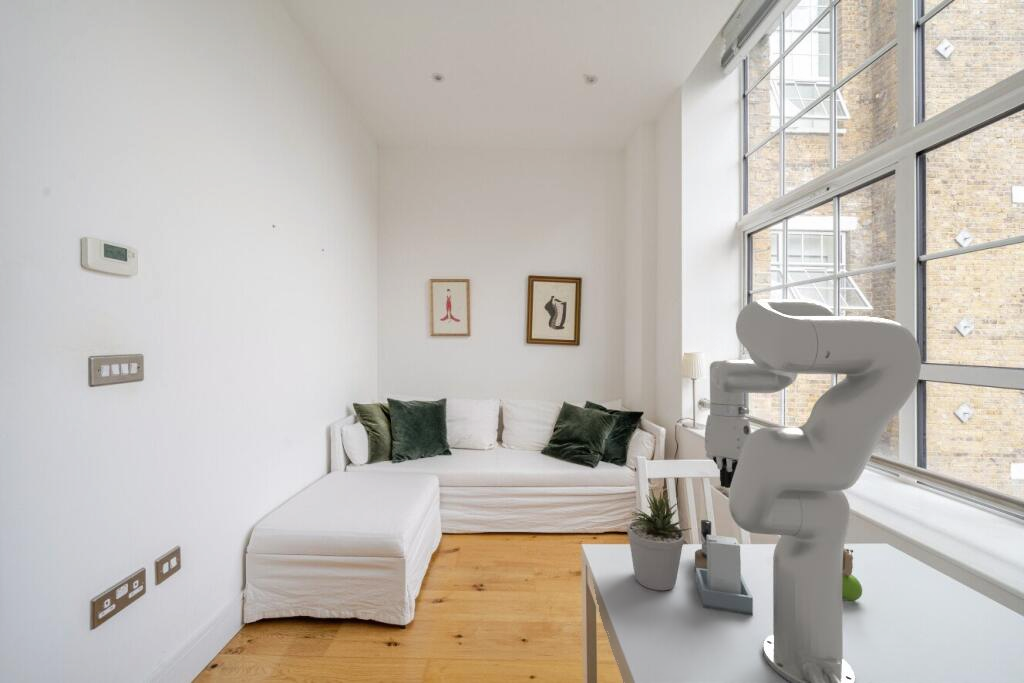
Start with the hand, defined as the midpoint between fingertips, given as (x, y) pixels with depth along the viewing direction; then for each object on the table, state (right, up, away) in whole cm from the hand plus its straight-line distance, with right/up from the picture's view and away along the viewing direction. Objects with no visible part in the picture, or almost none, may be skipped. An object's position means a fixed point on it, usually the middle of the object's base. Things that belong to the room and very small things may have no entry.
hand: (727, 486), depth 101 cm
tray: (-8, -20, -12) cm, 25 cm away
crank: (-4, -16, 0) cm, 16 cm away
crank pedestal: (-5, -20, -3) cm, 21 cm away
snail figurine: (+19, -20, -13) cm, 30 cm away
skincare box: (-8, -19, -13) cm, 24 cm away
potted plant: (-19, -20, -6) cm, 28 cm away
